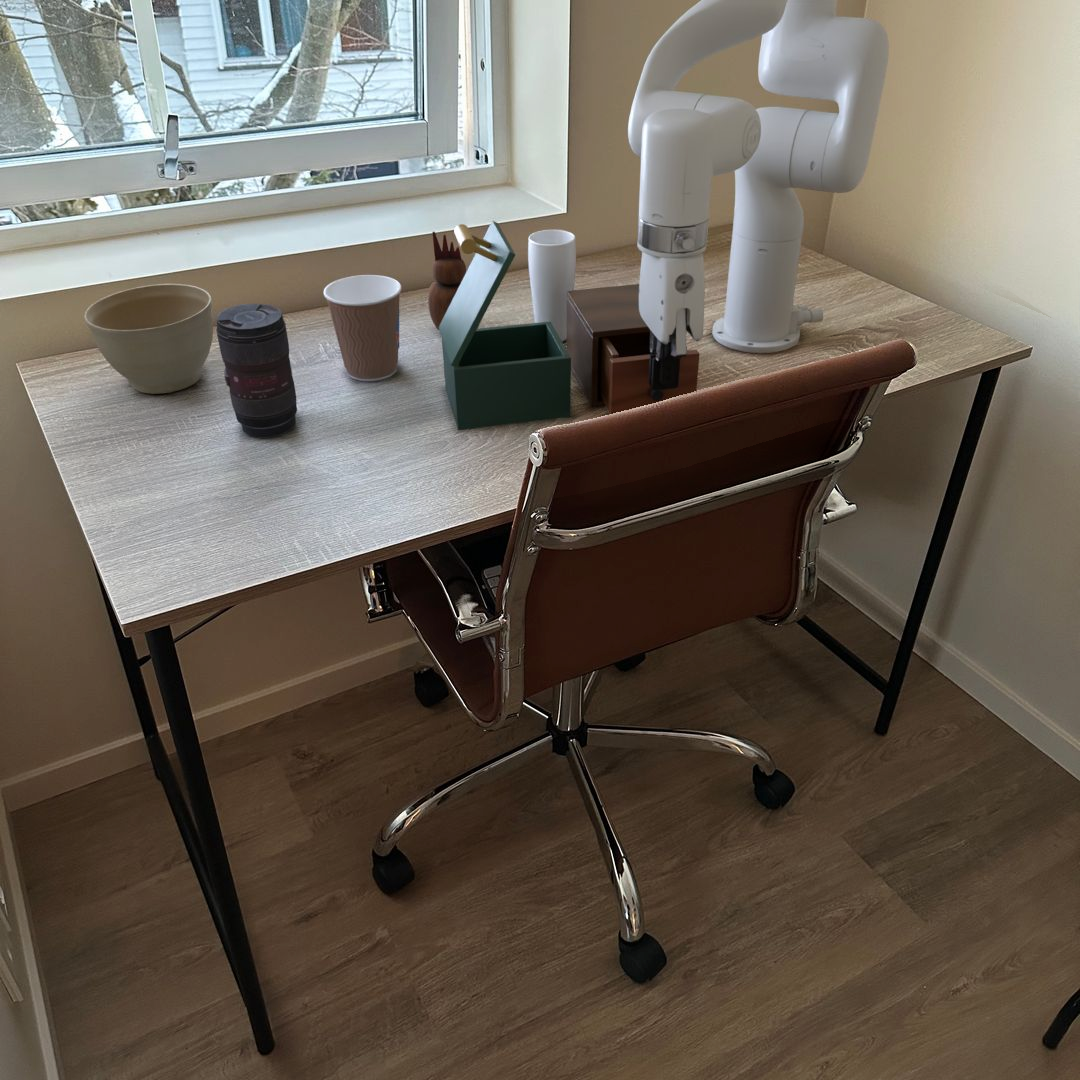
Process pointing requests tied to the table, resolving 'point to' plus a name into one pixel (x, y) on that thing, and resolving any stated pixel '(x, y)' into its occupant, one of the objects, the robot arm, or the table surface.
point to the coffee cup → (366, 324)
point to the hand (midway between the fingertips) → (663, 385)
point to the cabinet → (598, 329)
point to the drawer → (636, 373)
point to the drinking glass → (551, 276)
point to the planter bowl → (154, 334)
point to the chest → (510, 377)
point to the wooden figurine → (444, 279)
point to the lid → (475, 287)
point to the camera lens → (258, 368)
